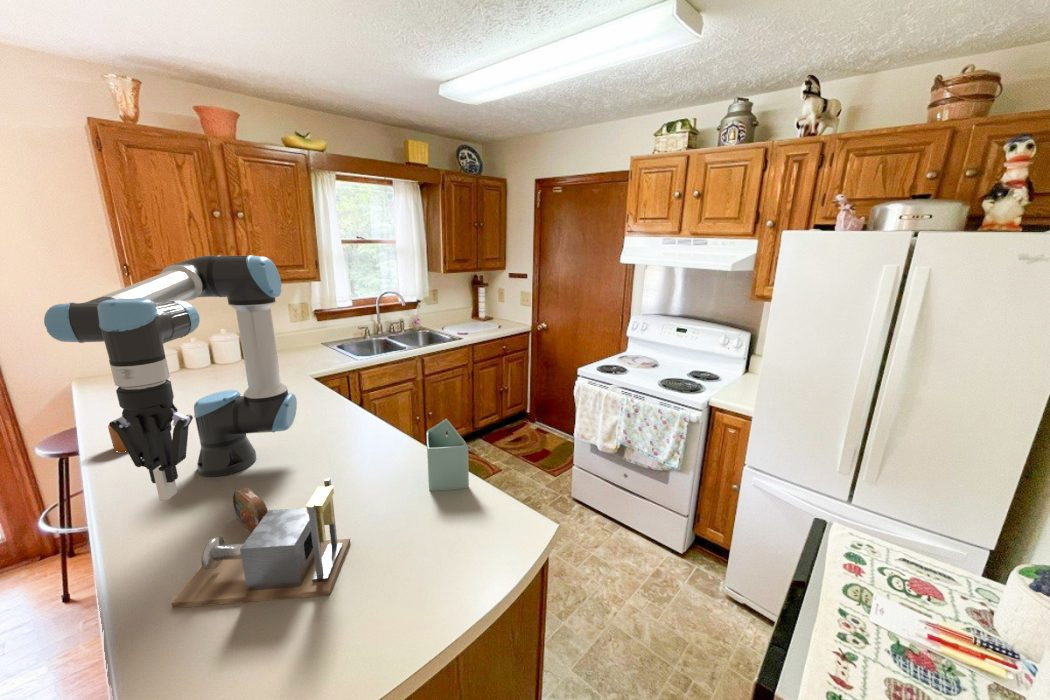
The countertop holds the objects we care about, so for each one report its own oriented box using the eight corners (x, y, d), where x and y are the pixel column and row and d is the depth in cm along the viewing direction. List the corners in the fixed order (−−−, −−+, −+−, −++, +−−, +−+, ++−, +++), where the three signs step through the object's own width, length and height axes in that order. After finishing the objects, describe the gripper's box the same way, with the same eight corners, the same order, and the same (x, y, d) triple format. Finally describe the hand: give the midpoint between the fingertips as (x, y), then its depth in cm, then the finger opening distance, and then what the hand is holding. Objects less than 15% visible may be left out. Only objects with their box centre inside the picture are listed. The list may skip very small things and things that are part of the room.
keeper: (311, 543, 84) (306, 506, 82) (322, 521, 91) (318, 486, 89) (326, 542, 85) (322, 505, 83) (336, 520, 91) (333, 485, 89)
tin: (234, 515, 107) (229, 486, 105) (247, 509, 109) (243, 481, 107) (259, 540, 98) (254, 509, 96) (273, 533, 101) (268, 503, 98)
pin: (204, 576, 84) (199, 551, 82) (221, 554, 89) (216, 531, 88) (288, 570, 86) (285, 545, 84) (300, 549, 92) (297, 526, 90)
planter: (410, 481, 123) (406, 420, 118) (429, 470, 130) (427, 412, 125) (450, 500, 115) (448, 435, 110) (469, 487, 121) (468, 425, 116)
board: (172, 608, 80) (171, 602, 79) (217, 552, 94) (217, 547, 94) (329, 595, 83) (328, 590, 83) (350, 543, 98) (349, 538, 97)
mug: (164, 442, 143) (159, 418, 141) (117, 456, 134) (110, 431, 132) (157, 434, 149) (151, 411, 146) (111, 447, 139) (104, 423, 137)
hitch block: (247, 590, 82) (233, 514, 78) (274, 548, 94) (264, 479, 89) (326, 584, 84) (316, 509, 80) (343, 543, 96) (336, 475, 91)
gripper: (85, 391, 71) (116, 509, 77) (168, 389, 73) (192, 505, 79) (120, 377, 78) (146, 486, 84) (195, 376, 80) (215, 483, 86)
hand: (168, 495), depth 82 cm, fingers closed
